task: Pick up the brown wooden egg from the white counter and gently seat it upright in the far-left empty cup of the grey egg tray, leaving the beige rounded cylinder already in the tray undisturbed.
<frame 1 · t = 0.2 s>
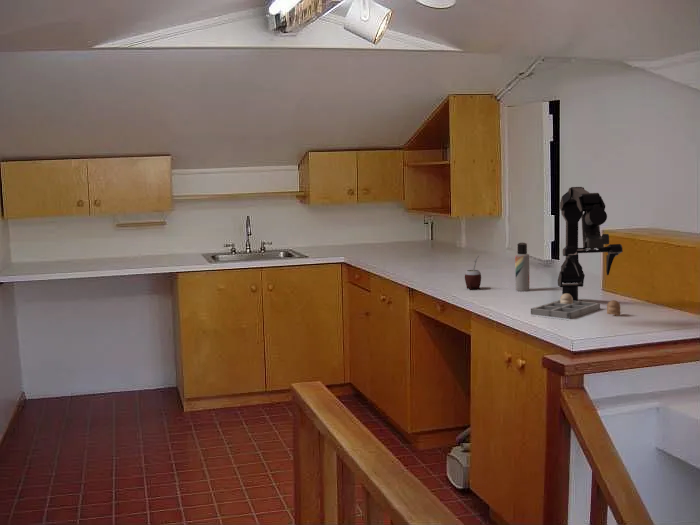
hand: (593, 275, 269), 15 cm above the worktop, tool pointing down, fingers open, 9 cm apart
brown egg: (613, 315, 279), on the worktop
lotion bottle: (522, 290, 336), on the worktop
mate gourd: (473, 289, 344), on the worktop
grey egg tray: (565, 313, 285), on the worktop
beige rounded cylinder: (566, 307, 292), point 1 cm above the worktop, touching grey egg tray
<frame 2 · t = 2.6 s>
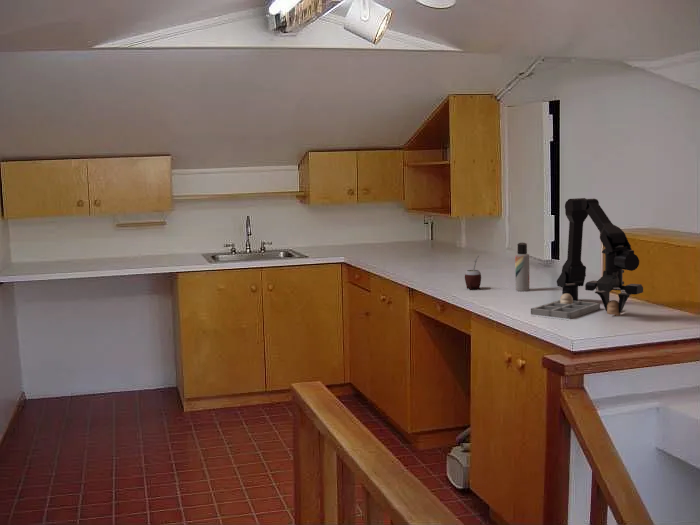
hand: (613, 311, 278), 1 cm above the worktop, tool pointing down, fingers closed on brown egg, 4 cm apart
brown egg: (613, 314, 279), on the worktop, touching gripper
everything else where it was.
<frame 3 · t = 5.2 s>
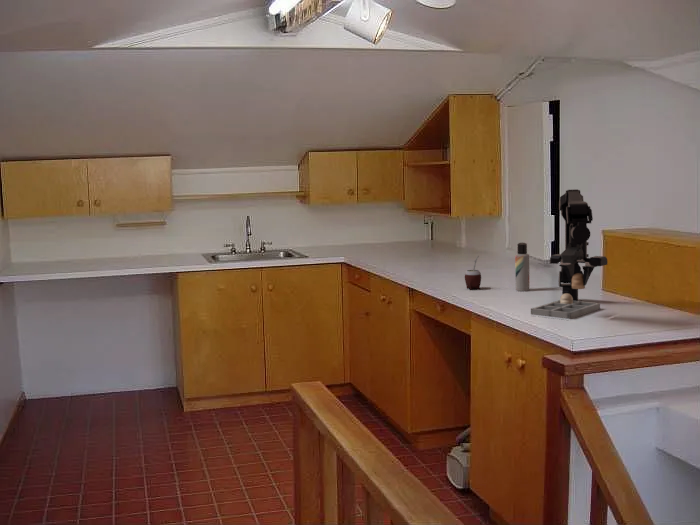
hand: (578, 285, 276), 11 cm above the worktop, tool pointing down, fingers closed on brown egg, 4 cm apart
brown egg: (578, 288, 276), point 10 cm above the worktop, touching gripper
everything else where it was.
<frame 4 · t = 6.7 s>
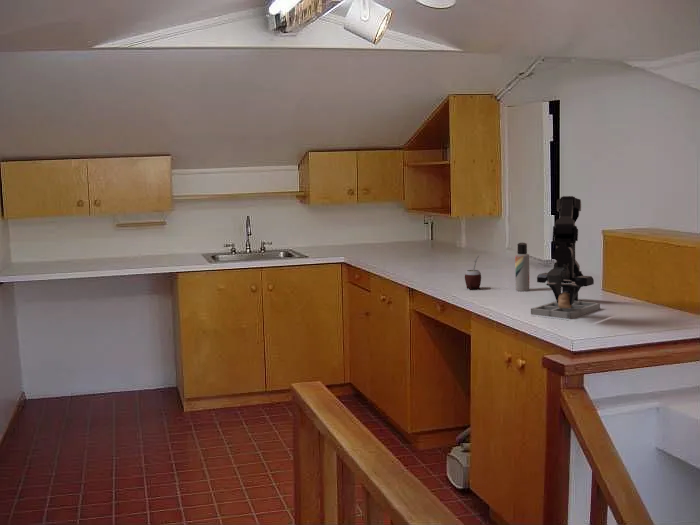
hand: (564, 304, 277), 5 cm above the worktop, tool pointing down, fingers closed on brown egg, 4 cm apart
brown egg: (564, 307, 277), point 4 cm above the worktop, touching gripper
everything else where it was.
when the fingers open (3 cm above the worktop, at t = 7.8 s): brown egg drops 2 cm, resting on grey egg tray.
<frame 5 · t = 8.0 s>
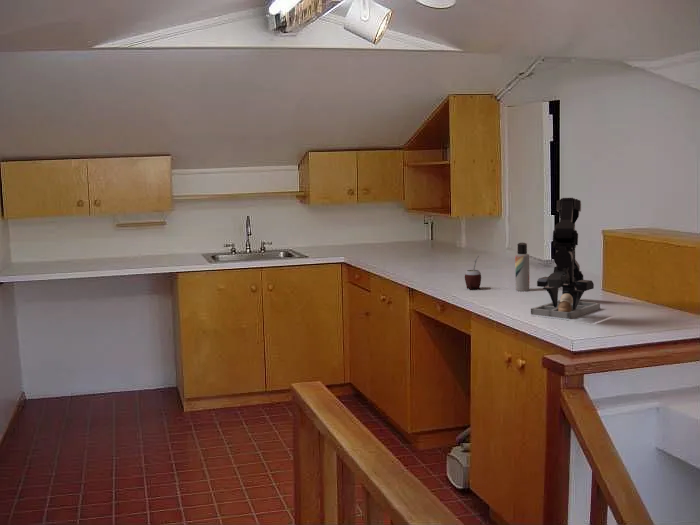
hand: (564, 308, 277), 3 cm above the worktop, tool pointing down, fingers open, 7 cm apart
brown egg: (564, 315, 277), point 1 cm above the worktop, touching grey egg tray
everything else where it was.
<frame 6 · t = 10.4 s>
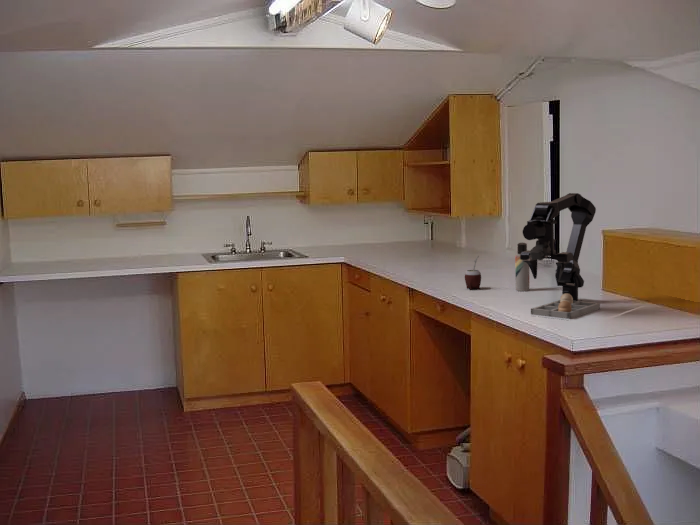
hand: (546, 279, 293), 11 cm above the worktop, tool pointing down, fingers open, 9 cm apart
nothing on the worktop moved.
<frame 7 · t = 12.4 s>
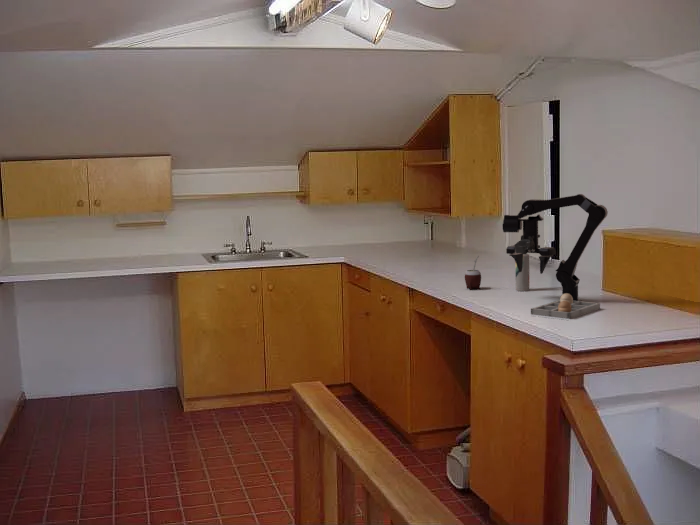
hand: (530, 272, 310), 11 cm above the worktop, tool pointing down, fingers open, 9 cm apart
nothing on the worktop moved.
at the end: brown egg 0.0 cm from the target spot on the grey egg tray, point 0.6 cm above the grey egg tray's base; brown egg tilted 1°; beige rounded cylinder moved 0.0 cm from its start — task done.
